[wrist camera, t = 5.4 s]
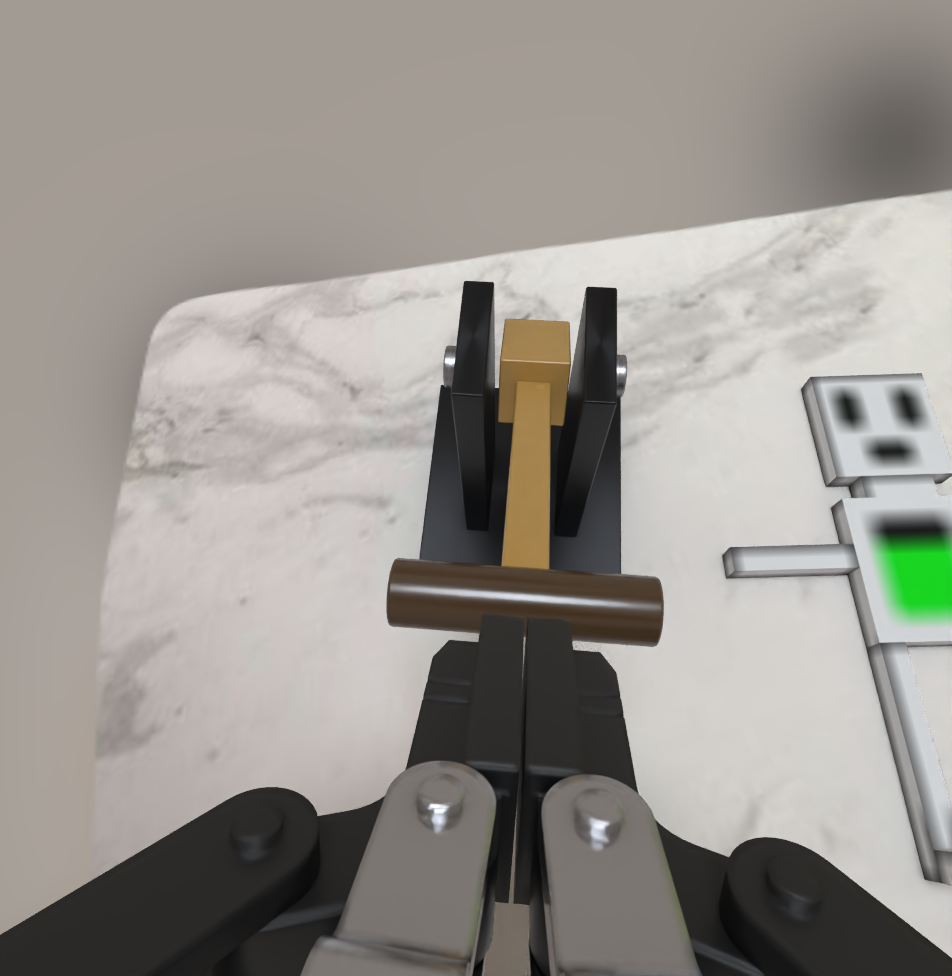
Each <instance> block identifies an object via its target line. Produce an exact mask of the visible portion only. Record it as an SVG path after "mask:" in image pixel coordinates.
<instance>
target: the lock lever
mask: <svg viewBox="0 0 952 976" xmlns="http://www.w3.org/2000/svg"><path fill="white" fill-rule="evenodd" d="M570 367H571V354H570V323H569V322H564V321H544V320H524V319H505V324H504V333H503V341H502V349H501V357H500V378H499V405H498V422H506V423H513V431H512V443H511V455H510V468H509V480H508V492H507V504H506V516H505V528H504V540H503V553H502V565H487V564H473V563H460V562H446V561H432V560H418V559H404V558H397V559H395V560H394V562H393V565H392V567H391V571H390V576H389V581H388V589H387V619H388V623H389V625H390V626H392V627H404V628H417V629H430V630H442V631H455V632H468V633H480V627H481V620H482V614H483V613H485V614H497V615H510V616H522V617H524V637H526V629H527V619H528V617H537V618H549V619H562V620H570V623H571V634H572V641H583V642H596V643H608V644H621V645H634V646H647V647H654V646H656V645H657V644H658V642H659V640H660V637H661V632H662V626H663V616H664V600H663V590H662V586H661V582H660V580H659V578H657V577H653V576H640V575H626V574H612V573H598V572H584V571H570V570H557V569H549V533H550V443H551V425H557V426H563V425H564V419H565V410H566V402H567V393H568V384H569V376H570Z"/></svg>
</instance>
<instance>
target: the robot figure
mask: <svg viewBox="0 0 952 976" xmlns="http://www.w3.org/2000/svg"><path fill="white" fill-rule="evenodd" d="M802 393H803V397H804V401H805V405H806V409H807V413H808V417H809V421H810V425H811V429H812V433H813V437H814V441H815V445H816V449H817V453H818V457H819V461H820V465H821V469H822V473H823V477H824V481H825V485H826V486H849V487H850V491H851V495H852V498H842V499H841V500H840V501H838V502H837V503H836V504H835V505H834V506H833V507H831V508H832V512H833V516H834V520H835V524H836V528H837V532H838V536H839V540H840V544H828V545H794V546H759V547H730V548H729V549H728V550H727V551H726V552H725V553H724V554H723V561H724V566H725V572H726V578H749V577H784V576H820V575H848V576H849V580H850V584H851V588H852V592H853V596H854V600H855V603H856V607H857V611H858V615H859V619H860V623H861V627H862V631H863V635H864V639H865V643H866V647H867V651H868V655H869V659H870V663H871V667H872V671H873V675H874V679H875V683H876V687H877V691H878V695H879V699H880V703H881V707H882V711H883V715H884V718H885V722H886V726H887V730H888V734H889V738H890V742H891V746H892V750H893V754H894V758H895V762H896V766H897V770H898V774H899V778H900V782H901V786H902V790H903V794H904V798H905V802H906V806H907V810H908V814H909V818H910V822H911V826H912V829H913V833H914V837H915V841H916V845H917V849H918V853H919V857H920V861H921V865H922V869H923V873H924V877H925V880H929V881H934V882H939V883H944V884H949V885H952V807H951V803H950V799H949V796H948V792H947V789H946V785H945V781H944V778H943V774H942V770H941V767H940V763H939V760H938V756H937V752H936V749H935V745H934V741H933V738H932V734H931V731H930V727H929V723H928V720H927V716H926V713H925V709H924V705H923V702H922V698H921V694H920V691H919V687H918V684H917V680H916V676H915V673H914V669H913V666H912V662H911V658H910V655H909V651H908V647H917V646H952V495H941V496H939V495H938V492H937V489H936V486H935V483H942V482H944V481H945V480H947V479H948V478H949V477H951V476H952V461H951V458H950V455H949V452H948V449H947V446H946V443H945V440H944V437H943V435H942V432H941V429H940V426H939V423H938V420H937V417H936V414H935V411H934V408H933V405H932V402H931V399H930V396H929V393H928V390H927V387H926V385H925V382H924V379H923V376H922V373H917V374H887V375H857V376H827V377H810V378H809V379H808V381H807V382H806V383H805V385H804V386H803V387H802Z"/></svg>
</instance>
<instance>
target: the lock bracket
mask: <svg viewBox="0 0 952 976" xmlns="http://www.w3.org/2000/svg"><path fill="white" fill-rule="evenodd" d="M626 377H627V358H626V356H625V355H617V289H616V288H603V287H587V288H586V292H585V297H584V303H583V309H582V315H581V320H580V326H579V332H578V338H577V343H576V349H575V355H574V361H573V366H572V372H571V378H570V383H569V389H568V393H567V402H566V410H565V419H564V425H563V426H557V425H551V443H550V533H549V569H557V570H570V571H584V572H598V573H612V574H621V397H622V396H623V394H624V390H625V385H626ZM443 379H444V385H441V388H440V396H439V404H438V413H437V421H436V429H435V437H434V445H433V453H432V461H431V469H430V477H429V485H428V493H427V501H426V509H425V517H424V526H423V534H422V542H421V550H420V558H419V560H432V561H446V562H460V563H473V564H487V565H502V553H503V540H504V528H505V516H506V504H507V492H508V480H509V468H510V455H511V443H512V431H513V423H506V422H498V405H499V388H495V338H494V283H493V282H477V281H465V282H464V286H463V294H462V303H461V311H460V320H459V329H458V337H457V346H447V347H446V350H445V355H444V367H443Z"/></svg>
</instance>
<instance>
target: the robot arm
mask: <svg viewBox="0 0 952 976" xmlns="http://www.w3.org/2000/svg"><path fill="white" fill-rule="evenodd" d="M523 641H524V617H522V616H510V615H497V614H485V613H483V614H482V620H481V627H480V634H479V642H467V641H455V640H449V641H448V642H447V643H446V644H445V645H444V646H443V647H442V648H441V649H440V650H439V651H438V652H437V653H436V654H435V655H434V656H433V659H432V663H431V667H430V671H429V675H428V682H427V684H426V688H425V692H424V698H423V700H422V704H421V709H420V713H419V717H418V721H417V725H416V729H415V734H414V738H413V742H412V746H411V750H410V754H409V758H408V763H407V767H406V770H405V771H404V772H402V773H401V774H400V775H399V776H398V777H397V778H396V779H394V781H393V782H392V783H391V785H390V786H389V788H388V790H387V793H386V795H385V796H384V797H383V798H381V799H380V800H378V801H376V802H374V803H372V804H370V805H367V806H365V807H362V808H359V809H354V810H350V811H345V812H339V813H334V814H328V815H322V816H317V812H316V810H315V808H314V806H313V805H312V804H311V803H310V801H309V800H308V799H306V798H305V797H304V796H303V795H301V794H299V793H297V792H295V791H292V790H289V789H285V788H278V787H266V788H258V789H253V790H249V791H246V792H243V793H240V794H238V795H236V796H234V797H232V798H230V799H228V800H226V801H224V802H223V803H221V804H219V805H218V806H216V807H214V808H213V809H211V810H209V811H208V812H206V813H204V814H203V815H201V816H199V817H198V818H196V819H194V820H193V821H191V822H189V823H187V824H186V825H184V826H182V827H181V828H179V829H177V830H176V831H174V832H172V833H171V834H169V835H167V836H166V837H164V838H162V839H161V840H159V841H157V842H156V843H154V844H152V845H151V846H149V847H147V848H145V849H144V850H142V851H140V852H139V853H137V854H135V855H134V856H132V857H130V858H129V859H127V860H125V861H124V862H122V863H120V864H119V865H117V866H115V867H114V868H112V869H110V870H109V871H107V872H105V873H103V874H102V875H100V876H98V877H97V878H95V879H93V880H92V881H90V882H88V883H87V884H85V885H83V886H82V887H80V888H78V889H77V890H75V891H73V892H72V893H70V894H68V895H67V896H65V897H63V898H62V899H60V900H58V901H56V902H55V903H53V904H51V905H50V906H48V907H46V908H45V909H43V910H41V911H40V912H38V913H36V914H35V915H33V916H31V917H30V918H28V919H26V920H25V921H23V922H21V923H20V924H18V925H16V926H14V927H13V928H11V929H9V930H8V931H6V932H4V933H3V934H1V935H0V976H484V970H485V962H486V953H487V951H488V949H489V947H490V944H491V941H492V934H493V923H494V909H495V902H501V903H509V891H510V879H511V866H512V854H513V842H514V830H515V818H516V842H515V872H514V901H513V903H514V904H523V905H529V940H528V950H527V961H526V972H527V976H952V958H951V957H950V956H948V955H947V954H946V953H945V952H943V951H942V950H941V949H939V948H938V947H937V946H936V945H934V944H933V943H932V942H930V941H929V940H928V939H927V938H925V937H924V936H923V935H922V934H920V933H919V932H918V931H916V930H915V929H914V928H913V927H911V926H910V925H909V924H908V923H906V922H905V921H904V920H902V919H901V918H900V917H899V916H897V915H896V914H895V913H894V912H892V911H891V910H890V909H888V908H887V907H886V906H885V905H883V904H882V903H881V902H879V901H878V900H877V899H876V898H874V897H873V896H872V895H871V894H869V893H868V892H867V891H865V890H864V889H863V888H862V887H860V886H859V885H858V884H857V883H855V882H854V881H853V880H851V879H850V878H849V877H848V876H846V875H845V874H844V873H843V872H841V871H840V870H839V869H837V868H836V867H835V866H834V865H832V864H831V863H830V862H828V861H827V860H826V859H824V858H823V857H821V856H820V855H819V854H817V853H815V852H813V851H812V850H810V849H808V848H806V847H804V846H801V845H799V844H797V843H794V842H790V841H787V840H783V839H778V838H767V837H763V838H755V839H751V840H748V841H745V842H744V843H742V844H740V845H739V846H738V847H736V848H735V849H734V851H733V852H732V854H731V855H730V857H727V856H724V855H721V854H718V853H716V852H713V851H710V850H708V849H705V848H702V847H700V846H697V845H694V844H692V843H690V842H687V841H685V840H683V839H681V838H679V837H677V836H676V835H674V834H672V833H671V832H669V831H668V830H667V829H665V828H664V827H663V826H662V825H660V824H659V823H658V822H657V821H656V820H655V818H654V815H653V813H652V811H651V809H650V807H649V806H648V804H647V803H646V802H645V800H644V799H643V798H642V797H641V796H640V795H639V794H638V790H637V786H636V780H635V774H634V769H633V763H632V758H631V752H630V747H629V741H628V736H627V730H626V724H625V719H624V718H623V708H622V702H621V699H620V691H619V685H618V680H617V674H616V672H615V670H614V669H613V668H612V667H611V665H610V664H609V663H608V662H607V660H606V659H605V658H604V657H603V655H602V654H601V653H600V652H590V651H578V650H573V646H572V634H571V623H570V620H562V619H549V618H537V617H528V619H527V629H526V642H525V654H524V667H523ZM522 674H523V679H522ZM516 806H517V812H516Z"/></svg>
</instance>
